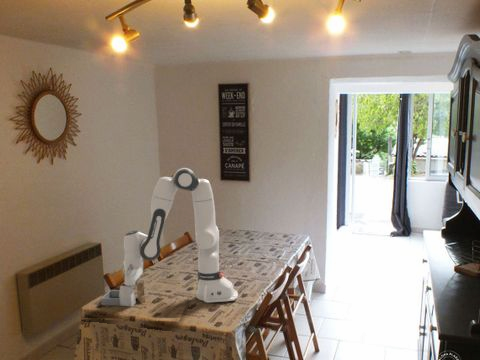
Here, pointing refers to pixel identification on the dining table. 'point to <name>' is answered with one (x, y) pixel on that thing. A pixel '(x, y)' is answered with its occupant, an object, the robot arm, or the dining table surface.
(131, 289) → the white rectangular block
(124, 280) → the syrup box
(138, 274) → the robot arm
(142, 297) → the scraper
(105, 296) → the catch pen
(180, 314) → the dining table surface
